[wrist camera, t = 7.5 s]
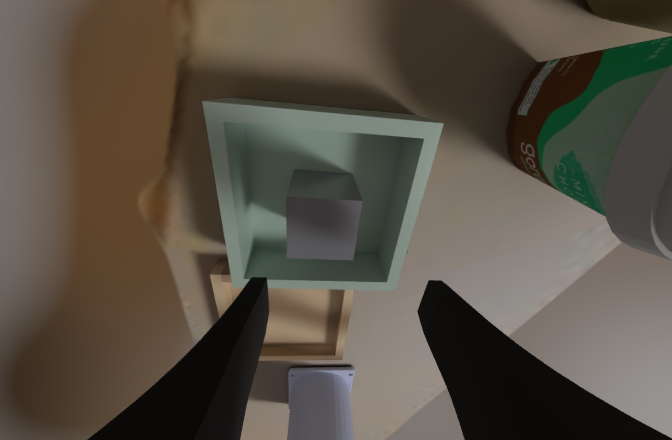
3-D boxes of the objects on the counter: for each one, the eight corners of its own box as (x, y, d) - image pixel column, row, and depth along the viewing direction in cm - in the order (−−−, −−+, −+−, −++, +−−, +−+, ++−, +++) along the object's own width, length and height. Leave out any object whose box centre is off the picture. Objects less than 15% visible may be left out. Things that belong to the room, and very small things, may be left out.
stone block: (345, 223, 18) (353, 260, 15) (293, 220, 18) (286, 258, 14) (352, 173, 17) (362, 201, 13) (294, 169, 16) (286, 196, 12)
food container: (449, 139, 16) (596, 201, 8) (523, 46, 14) (856, -17, 5) (553, 216, 20) (730, 316, 11) (625, 153, 18) (918, 218, 9)
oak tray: (340, 343, 27) (342, 359, 25) (234, 344, 26) (228, 361, 24) (353, 263, 21) (356, 278, 20) (218, 259, 20) (209, 274, 19)
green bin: (382, 256, 21) (395, 290, 18) (247, 252, 20) (232, 287, 16) (415, 114, 15) (443, 123, 12) (230, 97, 14) (202, 100, 11)
